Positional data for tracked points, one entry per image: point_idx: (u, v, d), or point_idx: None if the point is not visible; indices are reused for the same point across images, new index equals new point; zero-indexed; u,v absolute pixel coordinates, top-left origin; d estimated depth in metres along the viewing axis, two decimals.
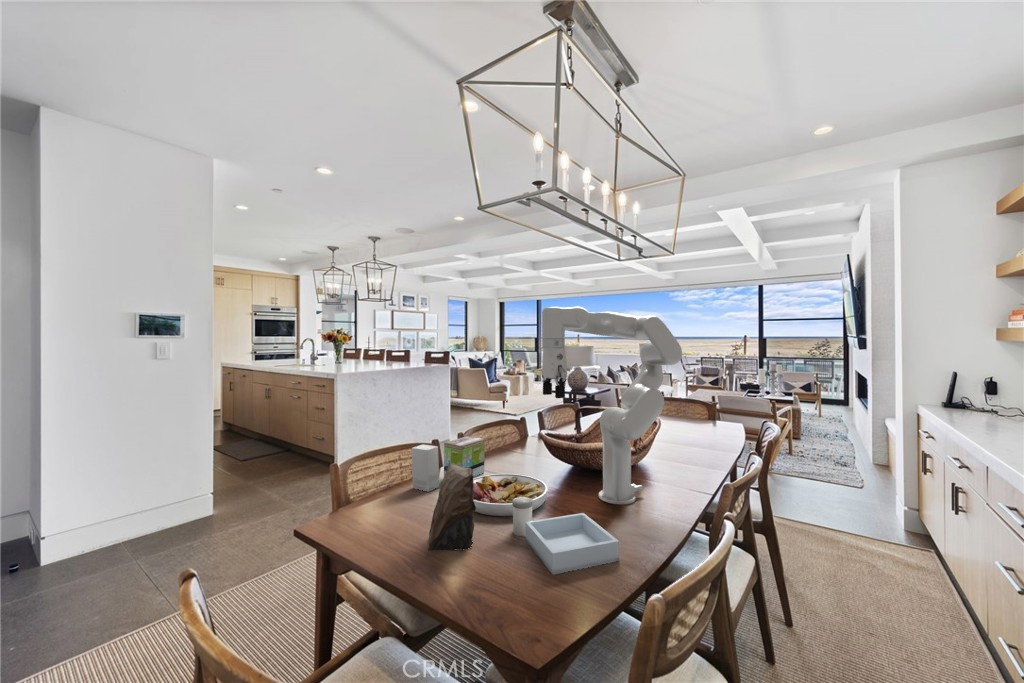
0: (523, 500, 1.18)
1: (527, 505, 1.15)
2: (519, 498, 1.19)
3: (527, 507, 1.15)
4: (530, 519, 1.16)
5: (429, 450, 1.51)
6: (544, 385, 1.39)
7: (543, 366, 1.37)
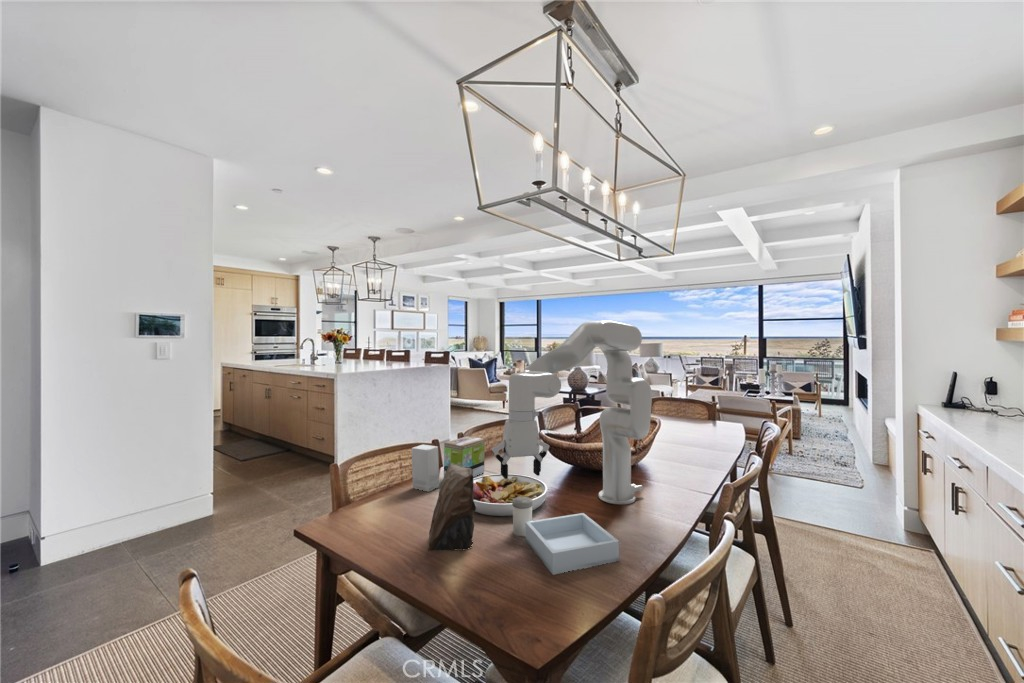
0: (523, 500, 1.18)
1: (527, 505, 1.15)
2: (519, 498, 1.19)
3: (527, 507, 1.15)
4: (530, 519, 1.16)
5: (429, 450, 1.51)
6: (507, 467, 1.15)
7: (515, 443, 1.15)
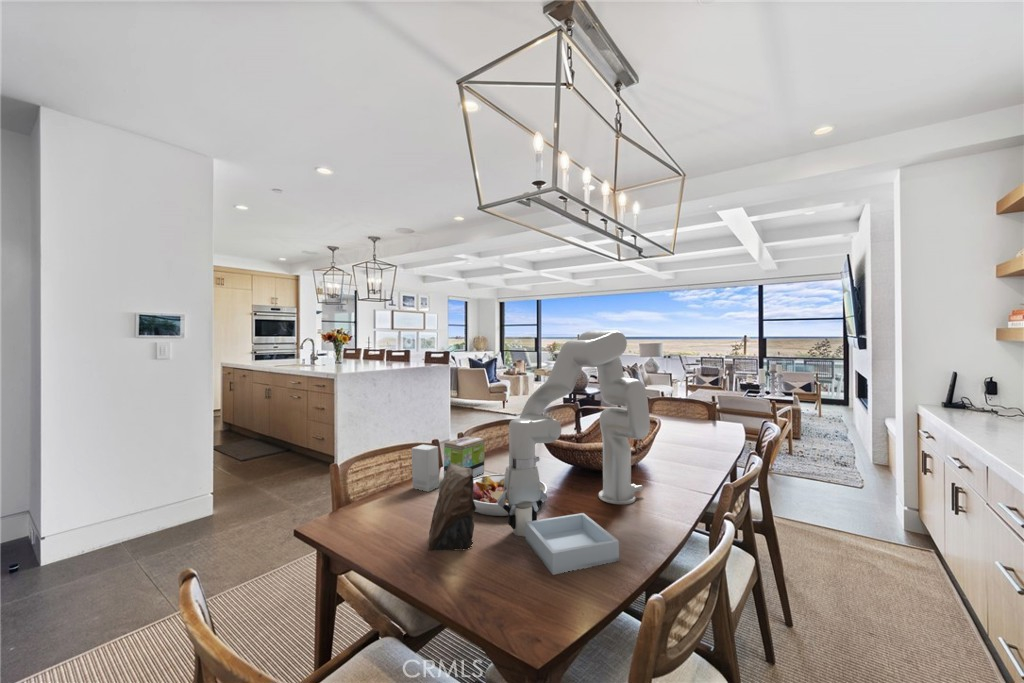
0: None
1: (527, 505, 1.15)
2: None
3: (527, 507, 1.15)
4: (530, 518, 1.16)
5: (429, 450, 1.51)
6: None
7: (517, 491, 1.15)
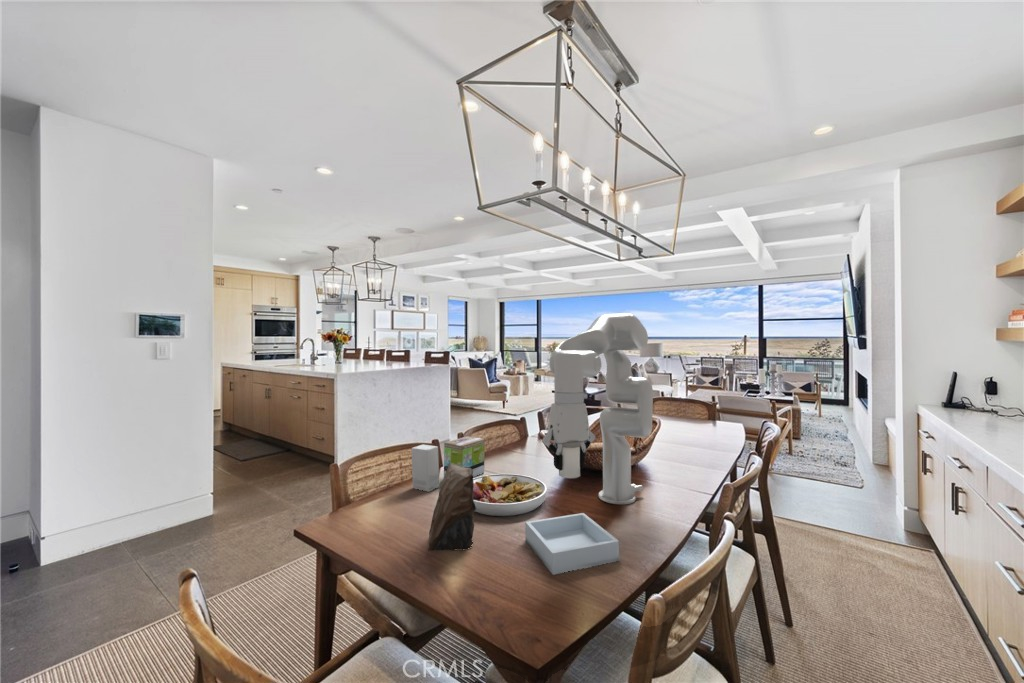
0: None
1: (575, 444, 1.05)
2: None
3: (576, 446, 1.05)
4: (578, 459, 1.05)
5: (429, 450, 1.51)
6: (561, 457, 1.05)
7: (564, 428, 1.04)
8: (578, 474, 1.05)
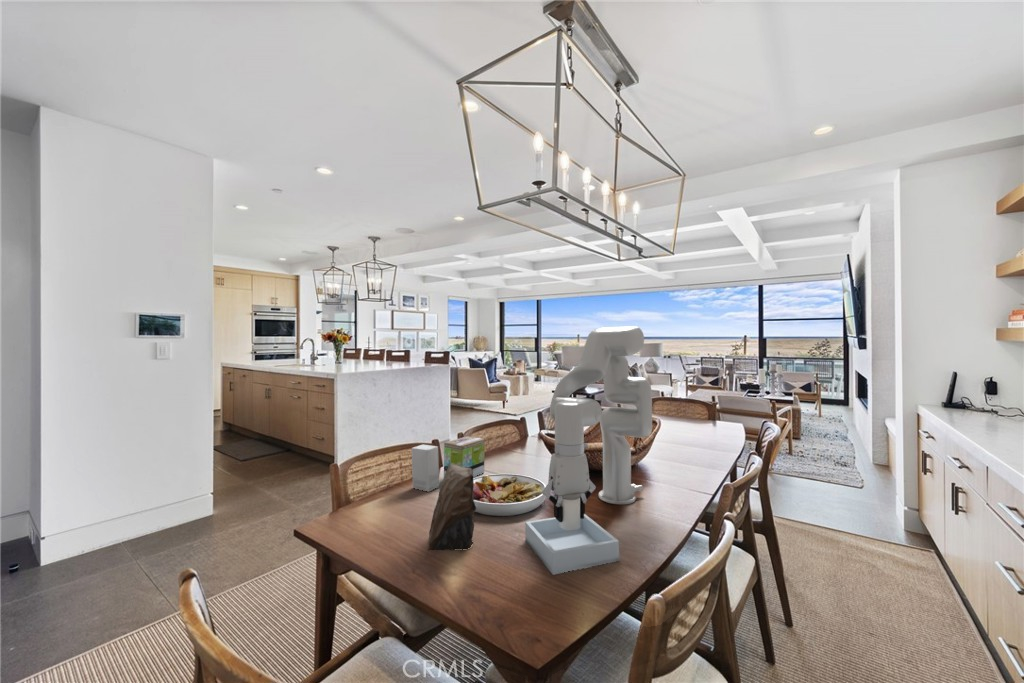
0: None
1: (576, 496, 1.04)
2: None
3: (576, 498, 1.04)
4: (578, 511, 1.05)
5: (429, 450, 1.51)
6: (562, 509, 1.05)
7: (564, 480, 1.04)
8: (578, 526, 1.05)
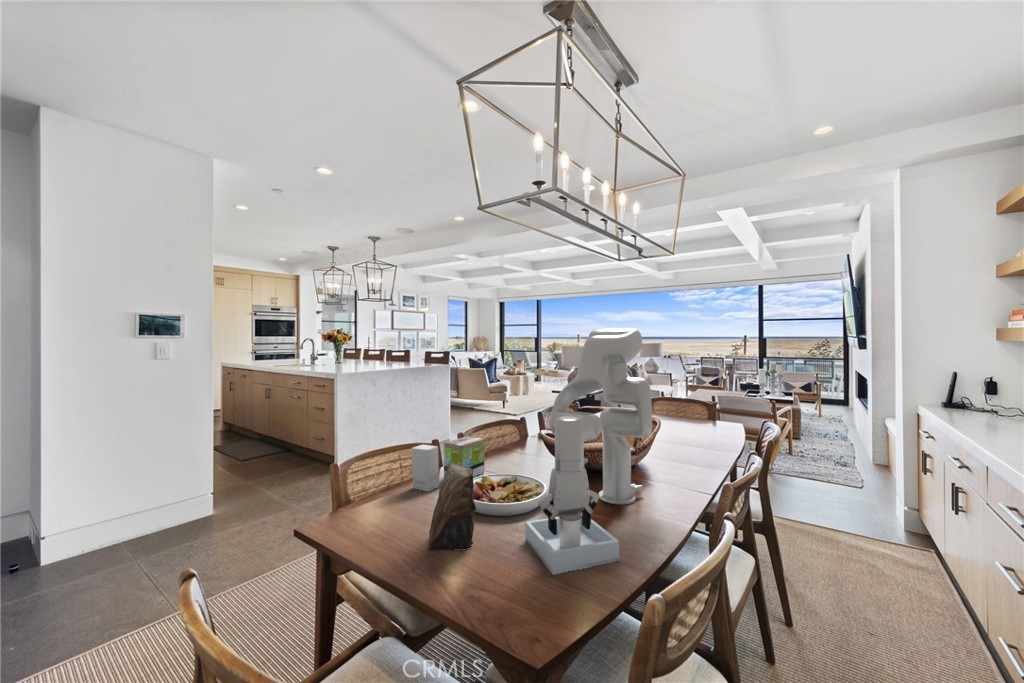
0: (570, 511, 1.07)
1: (576, 517, 1.05)
2: None
3: (576, 519, 1.05)
4: (579, 532, 1.05)
5: (429, 450, 1.51)
6: None
7: (564, 496, 1.04)
8: None
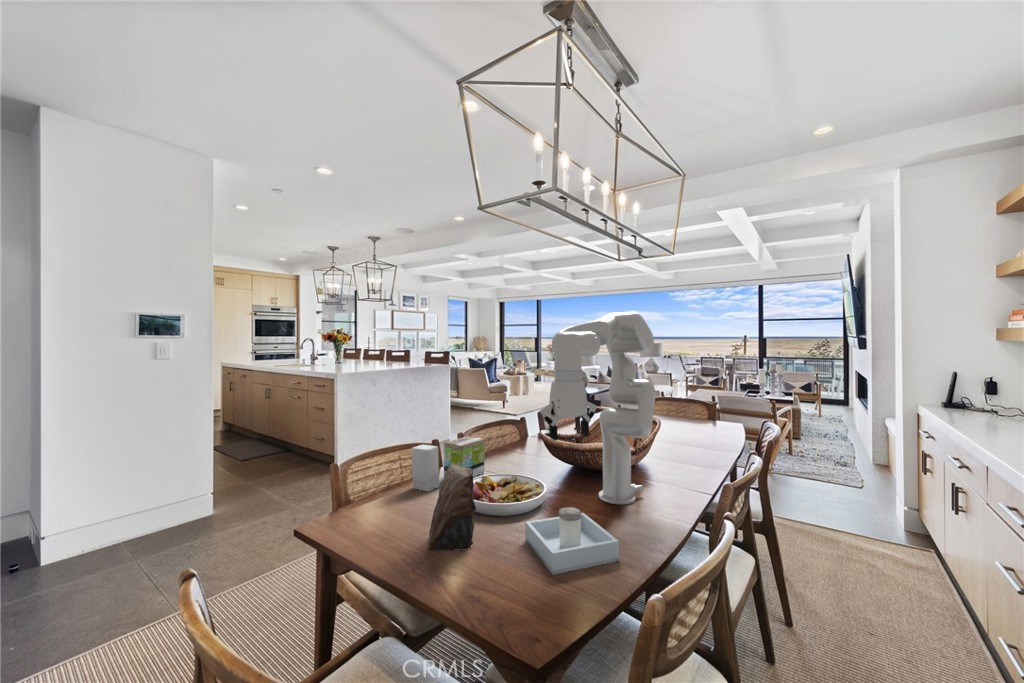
0: (570, 511, 1.07)
1: (576, 517, 1.05)
2: (565, 509, 1.09)
3: (577, 519, 1.05)
4: (579, 532, 1.05)
5: (429, 450, 1.51)
6: (556, 428, 1.12)
7: (564, 404, 1.12)
8: None
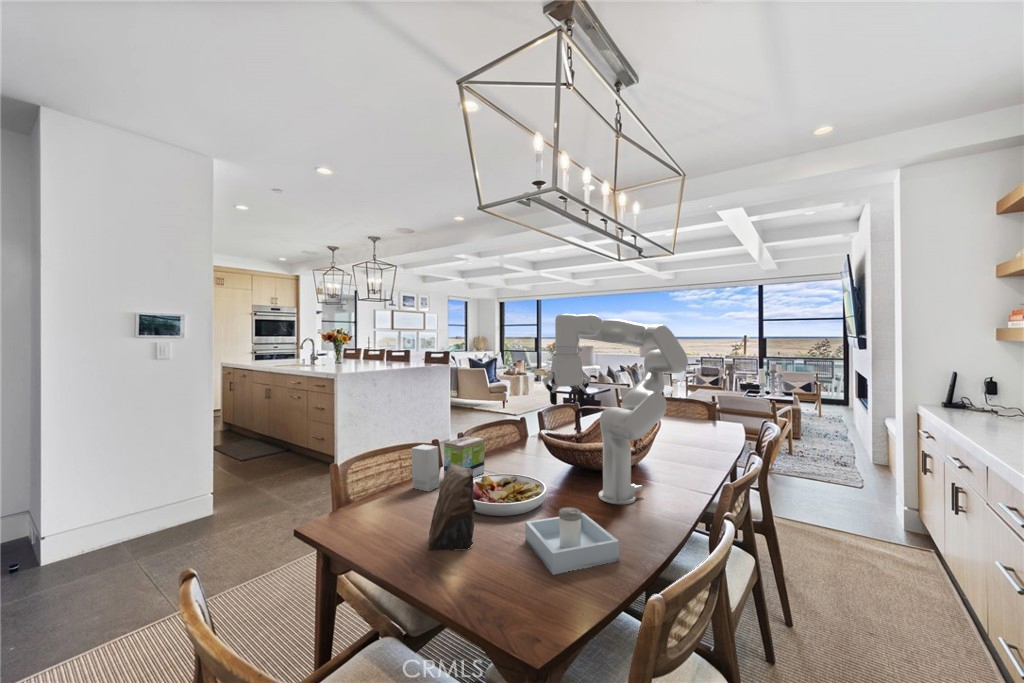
0: (570, 511, 1.07)
1: (576, 517, 1.05)
2: (565, 509, 1.09)
3: (577, 519, 1.05)
4: (579, 532, 1.05)
5: (429, 450, 1.51)
6: (556, 395, 1.32)
7: (563, 374, 1.32)
8: None
